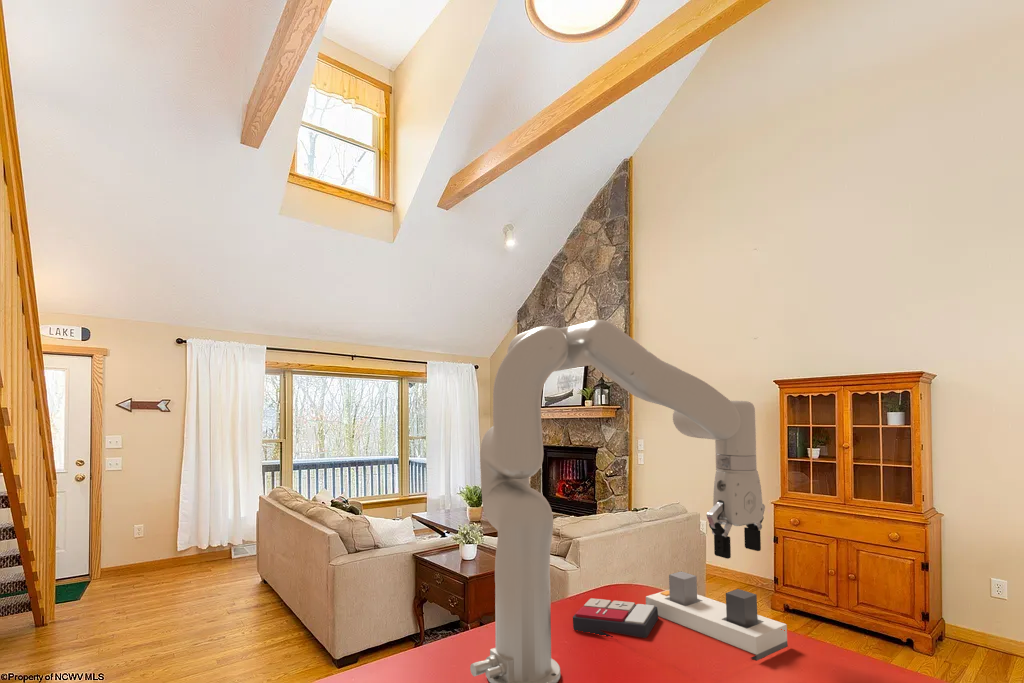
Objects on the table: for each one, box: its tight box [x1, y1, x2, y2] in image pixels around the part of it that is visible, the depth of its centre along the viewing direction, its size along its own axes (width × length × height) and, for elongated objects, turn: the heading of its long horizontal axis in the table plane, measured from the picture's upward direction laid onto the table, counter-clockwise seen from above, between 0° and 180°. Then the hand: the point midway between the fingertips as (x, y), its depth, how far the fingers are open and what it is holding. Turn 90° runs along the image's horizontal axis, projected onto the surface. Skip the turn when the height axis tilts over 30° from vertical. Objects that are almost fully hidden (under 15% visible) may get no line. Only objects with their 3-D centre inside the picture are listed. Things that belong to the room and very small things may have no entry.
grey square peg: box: [668, 571, 698, 606], centre depth 124 cm, size 4×4×8 cm
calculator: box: [572, 597, 659, 639], centre depth 120 cm, size 11×4×15 cm
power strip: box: [645, 589, 788, 661], centre depth 118 cm, size 10×26×4 cm, turn 35°
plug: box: [725, 588, 758, 628], centre depth 113 cm, size 4×4×8 cm
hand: (737, 553), depth 114 cm, fingers open, 9 cm apart
